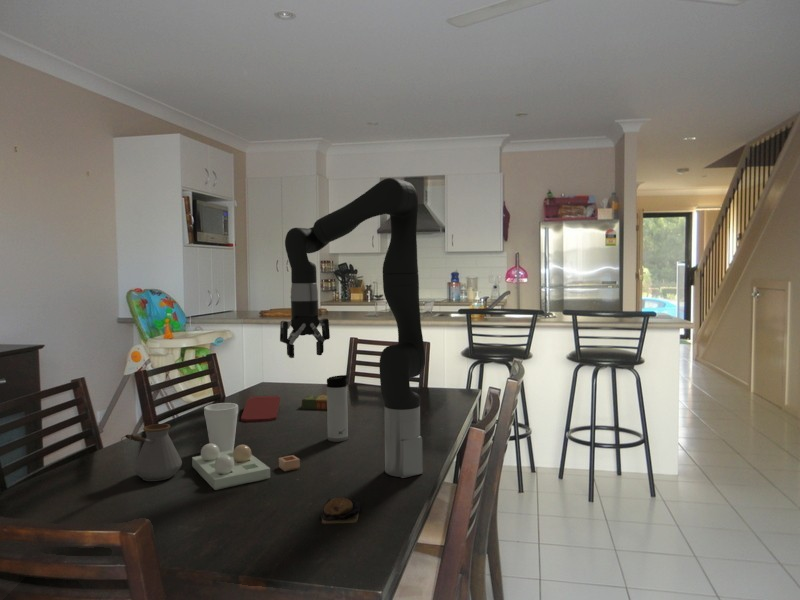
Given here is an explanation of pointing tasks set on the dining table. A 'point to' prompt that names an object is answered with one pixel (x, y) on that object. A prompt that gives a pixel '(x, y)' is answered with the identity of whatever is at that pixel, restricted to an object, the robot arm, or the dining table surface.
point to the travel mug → (337, 408)
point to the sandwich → (340, 511)
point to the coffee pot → (156, 454)
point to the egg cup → (289, 463)
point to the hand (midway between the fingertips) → (305, 356)
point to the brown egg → (242, 453)
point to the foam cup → (221, 424)
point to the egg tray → (237, 476)
